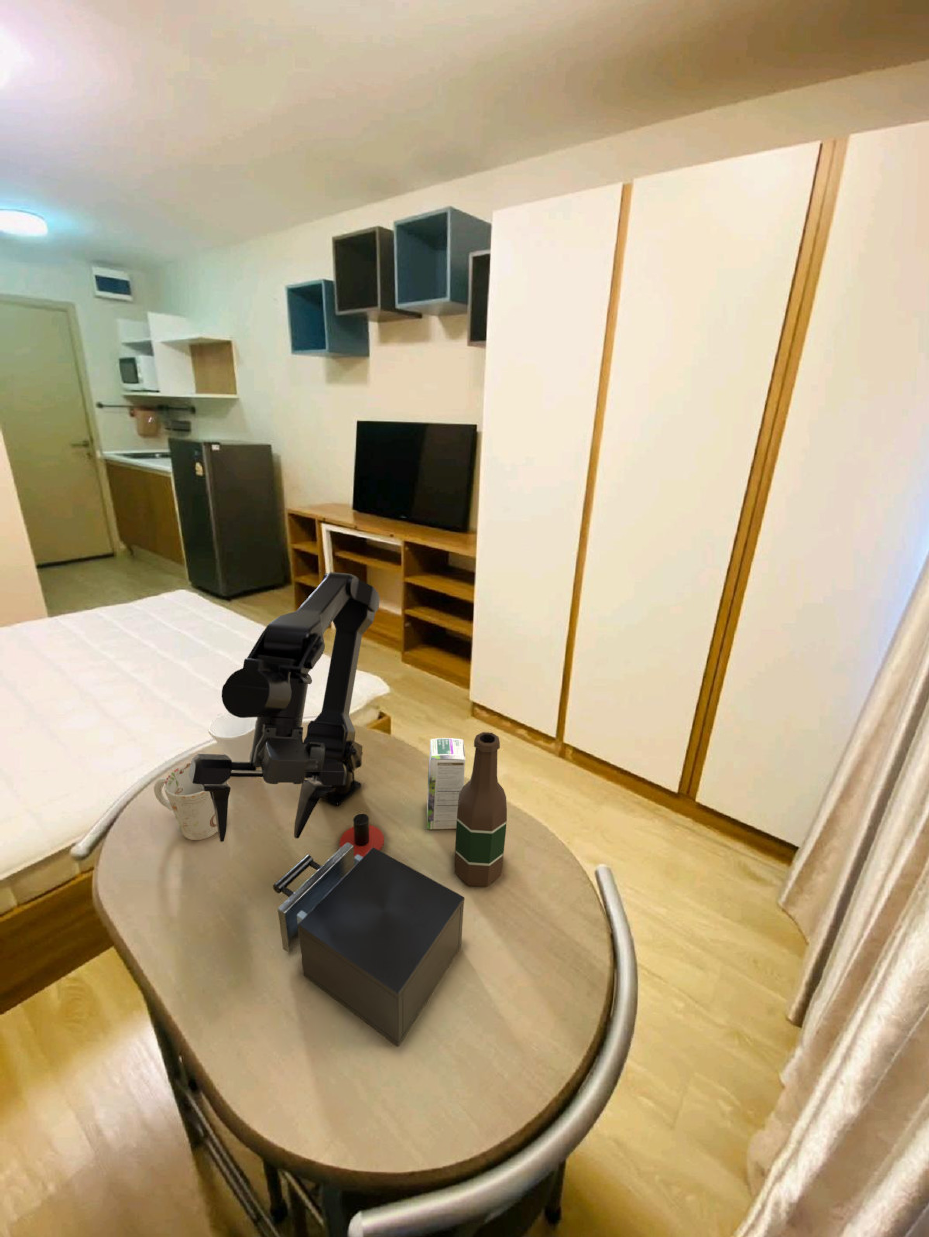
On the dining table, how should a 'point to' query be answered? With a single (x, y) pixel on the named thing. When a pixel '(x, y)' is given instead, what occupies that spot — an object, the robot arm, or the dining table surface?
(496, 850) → the beer bottle
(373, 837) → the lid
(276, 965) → the dining table surface
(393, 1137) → the dining table surface
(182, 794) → the mug
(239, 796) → the dining table surface
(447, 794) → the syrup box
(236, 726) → the cup
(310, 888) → the drawer
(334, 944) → the small cabinet
